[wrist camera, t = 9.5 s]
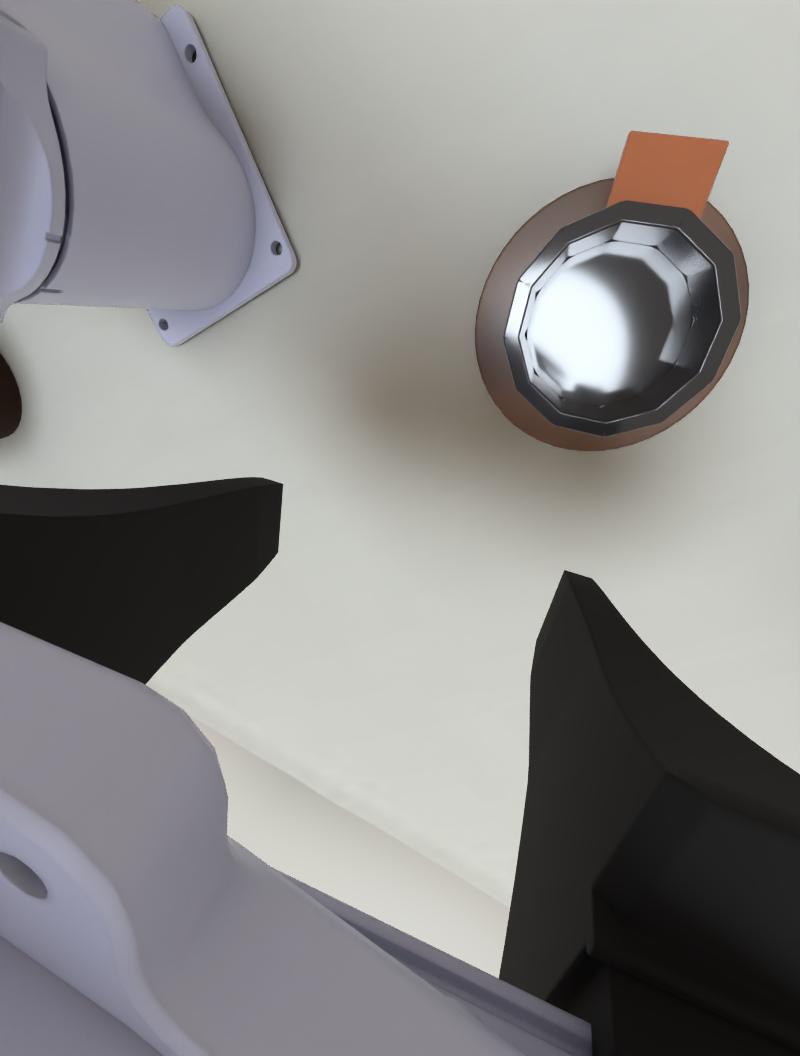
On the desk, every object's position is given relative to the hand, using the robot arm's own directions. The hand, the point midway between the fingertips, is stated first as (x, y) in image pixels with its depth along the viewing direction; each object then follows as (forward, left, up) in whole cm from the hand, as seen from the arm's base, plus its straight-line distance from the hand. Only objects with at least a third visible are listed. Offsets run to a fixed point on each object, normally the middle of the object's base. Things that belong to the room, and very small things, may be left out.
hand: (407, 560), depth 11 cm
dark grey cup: (-3, +6, -10) cm, 12 cm away
